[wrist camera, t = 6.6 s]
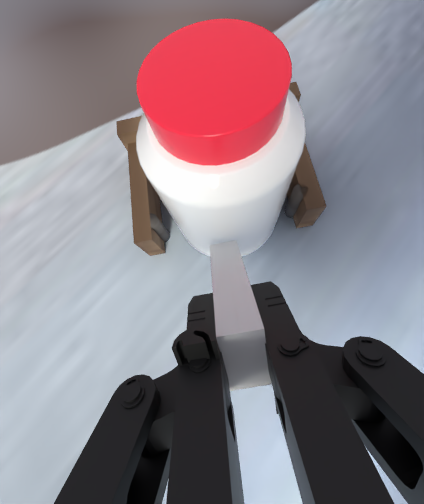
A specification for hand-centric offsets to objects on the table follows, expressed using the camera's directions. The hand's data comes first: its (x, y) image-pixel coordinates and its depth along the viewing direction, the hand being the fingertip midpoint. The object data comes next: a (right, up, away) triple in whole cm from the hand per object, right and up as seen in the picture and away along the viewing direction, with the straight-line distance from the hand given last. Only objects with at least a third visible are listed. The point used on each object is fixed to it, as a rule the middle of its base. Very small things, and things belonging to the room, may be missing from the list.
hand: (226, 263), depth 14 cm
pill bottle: (0, +4, +5) cm, 7 cm away
